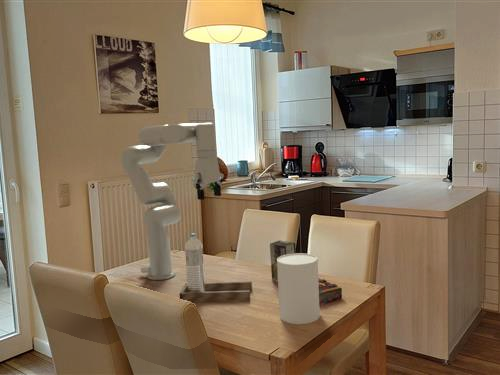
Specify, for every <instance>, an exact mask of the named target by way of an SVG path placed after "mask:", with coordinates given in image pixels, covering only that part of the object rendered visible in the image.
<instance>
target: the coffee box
mask: <svg viewBox="0 0 500 375" xmlns="http://www.w3.org/2000/svg"><path fill="white" fill-rule="evenodd" d="M296 251H297V250H296V242H292V241H285V240H276V241H274V242H271V243H269V252H270V253H269V254H270V266H271V267H270V268H271V270H270V271H271V281H272V282H277V283H278V271H277V258H278V257H280V256H283V255H287V254H295V253H297V252H296Z"/></svg>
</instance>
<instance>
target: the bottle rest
mask: <svg viewBox="0 0 500 375" xmlns="http://www.w3.org/2000/svg"><path fill="white" fill-rule="evenodd" d="M205 289H206V290H205V291H206V292H188V285H187V282H186V283H185V284H184V285H183V287H182V289H181V290H180V292H179V300H180V299H183V300H187V301H191V302H190V303H206V302H210V303H211V302H216V303H217V302H236V301H237V302H242V301H243V302H246V301H251V291H253V281H252V280H248V281H247V280H246V281H245V280H244V281H221V282H220V281H219V282H217V281H216V282H215V281H214V282H213V281H212V282H205Z"/></svg>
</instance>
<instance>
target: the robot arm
mask: <svg viewBox="0 0 500 375" xmlns="http://www.w3.org/2000/svg"><path fill="white" fill-rule="evenodd" d="M137 136H138V141H139V142H140V144H139V145H138V144H137V145H131V146H130V145H129V146H128V147H126V148H124V149H123V150H122V152H121V155H120V161H121V162H120V163H121V167H122V169H123V171H124V172H125V174H126V176H127V177H128V179H129V180H130V183H131V185H132V188H133V190H134V192H135V194H136V197H137V199H138V201H139V203H140V205H142V206H144V207H148V206H151V207H149V208H148V209H146V210H145V211H144V212H143V215H142V216H143V218H142V220H143V223H144V227H145V231H146V236H147V248H148V259H149V260H148V261H149V266H147V267H140V272H142V273H143V274H145V273H147V274H146V278H147V279H149V280H152V281H161V280H162V281H163V280H168V279H171V278H173V277H175V276H176V271H175V270H174V269H172V268H173V267H172V257H171V256H172V255H171V254H172V253H171V244H170V236H169V235H170V234H169V233H168V231H167V230H166V228H165V227H167V226H170V225H174V224H177V223H178V222H179V221H180V219H181V213H182V212H181V210H180V206H179V204H178V202H177V200H176V198H175V196H174V193H173V190H172V189H171V187H170V186H169V185H168V184H167V183H165V182H161V181H160V182H153V181H152V179H151V177H150V175H149V173H148V171H147V170H146V169H144V168H143V167H142V166H141V165H144V164H153V163H156V162H158V161H159V160H160V158H162V155H163V154H164V153H165V151H166V149H167V147H168V146H169V145H173V144H175V145H176V144H187V143H188V144H189V143H195V144H196V156H197V157H196V159H195V165H194V176H193V178H192V179H191V182H192V185H193V187H194V188H195V190H196V194H197V200H199V201H203V200H205V189H204V187H205V185H209V184H213V195H214V197H221V196H222V188H221V186H222V183H223V182H224V181H223V179H224V177H225V176H224V175H225V174H224V173H222V172H220V166H219V161H218V157H217V153H218V152H217V147H216V146H217V145H216V144H217V143H216V129H215V124H214V123H212V122H204V123H203V122H202V123H196V122H194V123H193V122H192V123H191V122H190V123H177V124H176V123H175V124H161V125H150V126H146V127H143V128H142V129H140V130H139V132H138V135H137ZM153 205H154V206H153ZM155 205H156V206H155Z"/></svg>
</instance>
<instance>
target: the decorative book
mask: <svg viewBox="0 0 500 375" xmlns="http://www.w3.org/2000/svg"><path fill="white" fill-rule="evenodd" d="M318 284H319V306H324V305H325V304H326V303H329V302H332V301H337V300H340V299H343V292H342V287H340V286H338V284H336V283H331V282H328V280H326V279H320V278H319V277H318Z"/></svg>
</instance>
